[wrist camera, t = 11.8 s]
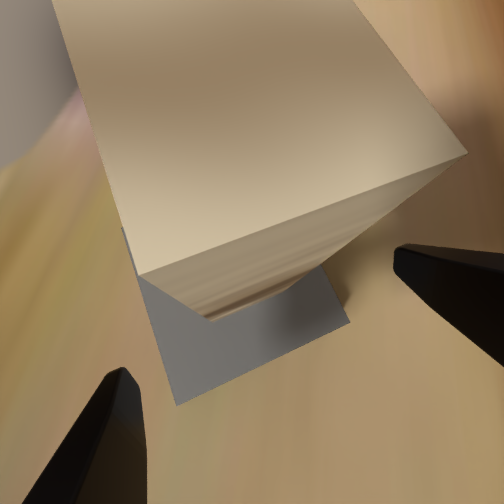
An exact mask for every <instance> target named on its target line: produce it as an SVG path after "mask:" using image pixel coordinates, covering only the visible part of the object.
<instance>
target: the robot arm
mask: <svg viewBox="0 0 504 504" xmlns="http://www.w3.org/2000/svg"><path fill="white" fill-rule="evenodd" d="M393 269H394V272H395V274H396V275H397V276H398V277H399V278H400V279H401V280H402V281H403V282H404V283H405V284H406V285H407V286H408V287H409V288H410V289H412V290H413V291H414V292H415V293H416V294H417V295H418V296H419V297H420V298H421V299H422V300H423V301H424V302H425V303H426V304H427V305H428V306H429V307H430V308H432V309H433V310H434V311H435V312H436V313H438V314H439V315H440V316H441V317H442V318H444V319H445V320H446V321H447V322H449V323H450V324H451V325H452V326H454V327H455V328H456V329H457V330H459V331H460V332H461V333H462V334H463V335H465V336H466V337H467V338H468V339H470V340H471V341H472V342H473V343H475V344H476V345H477V346H478V347H479V348H481V349H482V350H483V351H484V352H486V353H487V354H488V355H489V356H491V357H492V358H493V359H494V360H496V361H497V362H498V363H499V364H500V365H502V366H503V367H504V254H503V253H493V252H484V251H474V250H465V249H455V248H446V247H436V246H427V245H417V244H404V245H402V246H399V247H397V248H396V249H395V251H394V262H393ZM22 504H147V448H146V437H145V428H144V420H143V411H142V402H141V393H140V388H139V386H138V384H137V382H136V381H135V380H134V378H133V377H132V376H131V374H130V373H129V371H128V370H127V369H126V368H125V367H120V368H118V369H115V370H113V371H111V372H109V373H107V374H106V376H105V377H104V379H103V380H102V382H101V383H100V385H99V386H98V388H97V389H96V391H95V392H94V394H93V395H92V397H91V398H90V400H89V401H88V403H87V405H86V406H85V408H84V409H83V411H82V412H81V414H80V415H79V417H78V418H77V420H76V421H75V423H74V424H73V426H72V427H71V429H70V431H69V432H68V434H67V435H66V437H65V438H64V440H63V441H62V443H61V444H60V446H59V447H58V449H57V450H56V452H55V453H54V455H53V457H52V458H51V460H50V461H49V463H48V464H47V466H46V467H45V469H44V470H43V472H42V473H41V475H40V476H39V478H38V479H37V481H36V483H35V484H34V486H33V487H32V489H31V490H30V492H29V493H28V495H27V496H26V498H25V499H24V501H23V502H22Z"/></svg>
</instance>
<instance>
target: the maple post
mask: <svg viewBox="0 0 504 504" xmlns="http://www.w3.org/2000/svg"><path fill="white" fill-rule="evenodd" d="M52 3H53V6H54V9H55V12H56V15H57V19H58V22H59V25H60V28H61V31H62V34H63V38H64V41H65V44H66V47H67V50H68V54H69V57H70V60H71V63H72V66H73V69H74V73H75V76H76V79H77V82H78V85H79V88H80V92H81V95H82V98H83V101H84V104H85V107H86V111H87V114H88V117H89V120H90V123H91V127H92V130H93V133H94V136H95V139H96V142H97V146H98V149H99V152H100V155H101V158H102V161H103V165H104V168H105V171H106V174H107V177H108V180H109V184H110V187H111V190H112V193H113V196H114V200H115V203H116V206H117V209H118V212H119V215H120V219H121V222H122V225H123V228H124V231H125V234H126V238H127V241H128V244H129V247H130V250H131V253H132V257H133V260H134V263H135V266H136V269H137V273H138V276H140V277H142V278H143V279H145V280H146V281H148V282H149V283H151V284H153V285H154V286H156V287H157V288H159V289H160V290H162V291H164V292H165V293H167V294H168V295H170V296H172V297H173V298H175V299H176V300H178V301H179V302H181V303H183V304H184V305H186V306H187V307H189V308H190V309H192V310H194V311H195V312H197V313H198V314H200V315H201V316H203V317H205V318H206V319H208V320H209V321H211V322H212V323H213V322H215V321H217V320H220V319H222V318H224V317H227V316H229V315H231V314H233V313H236V312H238V311H240V310H243V309H245V308H247V307H250V306H252V305H254V304H257V303H259V302H261V301H264V300H266V299H268V298H271V297H273V296H275V295H278V294H280V293H282V292H284V291H285V290H286V289H288V288H289V287H290V286H292V285H293V284H294V283H296V282H297V281H298V280H300V279H301V278H302V277H304V276H305V275H306V274H308V273H309V272H310V271H312V270H313V269H314V268H316V267H317V266H318V265H320V264H321V263H322V262H324V261H325V260H326V259H328V258H329V257H330V256H332V255H333V254H334V253H336V252H337V251H338V250H340V249H341V248H342V247H344V246H345V245H346V244H348V243H349V242H350V241H352V240H353V239H354V238H356V237H357V236H358V235H360V234H361V233H362V232H364V231H365V230H366V229H368V228H369V227H370V226H372V225H373V224H374V223H376V222H377V221H378V220H380V219H381V218H382V217H384V216H385V215H386V214H388V213H389V212H390V211H392V210H393V209H394V208H396V207H397V206H398V205H400V204H401V203H402V202H404V201H405V200H407V199H408V198H409V197H411V196H412V195H413V194H415V193H416V192H417V191H419V190H420V189H421V188H423V187H424V186H425V185H427V184H428V183H429V182H431V181H432V180H433V179H435V178H436V177H437V176H439V175H440V174H441V173H443V172H444V171H445V170H447V169H448V168H449V167H451V166H452V165H453V164H455V163H456V162H457V161H459V160H460V159H461V158H463V157H464V156H465V155H467V154H468V152H467V150H466V149H465V148H464V146H463V145H462V144H461V142H460V141H459V140H458V139H457V137H456V136H455V135H454V133H453V132H452V131H451V129H450V128H449V127H448V125H447V124H446V123H445V121H444V120H443V119H442V117H441V116H440V115H439V114H438V112H437V111H436V110H435V108H434V107H433V106H432V104H431V103H430V102H429V100H428V99H427V98H426V96H425V95H424V94H423V92H422V91H421V90H420V89H419V87H418V86H417V85H416V83H415V82H414V81H413V79H412V78H411V77H410V75H409V74H408V73H407V71H406V70H405V69H404V67H403V66H402V65H401V64H400V62H399V61H398V60H397V58H396V57H395V56H394V54H393V53H392V52H391V50H390V49H389V48H388V46H387V45H386V44H385V42H384V41H383V40H382V38H381V37H380V36H379V35H378V33H377V32H376V31H375V29H374V28H373V27H372V25H371V24H370V23H369V21H368V20H367V19H366V17H365V16H364V15H363V13H362V12H361V11H360V10H359V8H358V7H357V6H356V4H355V3H354V2H353V0H52Z"/></svg>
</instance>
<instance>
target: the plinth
mask: <svg viewBox="0 0 504 504" xmlns="http://www.w3.org/2000/svg"><path fill="white" fill-rule="evenodd" d="M121 229H122V232H123V235H124V238H125V241H126V245H127V248H128V251H129V254H130V258H131V261H132V264H133V267H134V270H135V274H136V277H137V280H138V283H139V287H140V290H141V293H142V296H143V300H144V303H145V306H146V309H147V312H148V316H149V319H150V322H151V325H152V329H153V332H154V335H155V338H156V342H157V345H158V348H159V351H160V354H161V358H162V361H163V364H164V367H165V371H166V374H167V377H168V380H169V384H170V387H171V390H172V393H173V396H174V400H175V403H176V406H178V405H180V404H182V403H184V402H187V401H189V400H191V399H193V398H195V397H197V396H199V395H201V394H203V393H205V392H207V391H209V390H211V389H213V388H216V387H218V386H220V385H222V384H224V383H226V382H228V381H230V380H232V379H234V378H236V377H238V376H240V375H242V374H245V373H247V372H249V371H251V370H253V369H255V368H257V367H259V366H261V365H263V364H265V363H267V362H269V361H272V360H274V359H276V358H278V357H280V356H282V355H284V354H286V353H288V352H290V351H292V350H294V349H296V348H298V347H301V346H303V345H305V344H307V343H309V342H311V341H313V340H315V339H317V338H319V337H321V336H323V335H325V334H327V333H330V332H332V331H334V330H336V329H338V328H340V327H342V326H344V325H346V324H348V323H350V321H349V319H348V317H347V315H346V313H345V311H344V309H343V307H342V305H341V303H340V301H339V299H338V297H337V295H336V293H335V291H334V289H333V287H332V285H331V283H330V281H329V279H328V277H327V276H326V274H325V272H324V270H323V268H322V266H321V264H320V265H318V266H317V267H316V268H314V269H313V270H312V271H310V272H309V273H308V274H306V275H305V276H304V277H302V278H301V279H300V280H298V281H297V282H296V283H294V284H293V285H292V286H290V287H289V288H288V289H286V290H285V291H284V292H282V293H280V294H278V295H275V296H273V297H271V298H268V299H266V300H264V301H261V302H259V303H257V304H254V305H252V306H250V307H247V308H245V309H243V310H240V311H238V312H236V313H233V314H231V315H229V316H227V317H224V318H222V319H220V320H217V321H215V322H213V323H212V322H211V321H209V320H208V319H206V318H205V317H203V316H201V315H200V314H198V313H197V312H195V311H194V310H192V309H190V308H189V307H187V306H186V305H184V304H183V303H181V302H179V301H178V300H176V299H175V298H173V297H172V296H170V295H168V294H167V293H165V292H164V291H162V290H160V289H159V288H157V287H156V286H154V285H153V284H151V283H149V282H148V281H146V280H145V279H143V278H142V277H140V276H138V273H137V269H136V266H135V263H134V260H133V257H132V253H131V250H130V247H129V244H128V241H127V238H126V234H125V231H124V228H123V227H122V228H121Z"/></svg>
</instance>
